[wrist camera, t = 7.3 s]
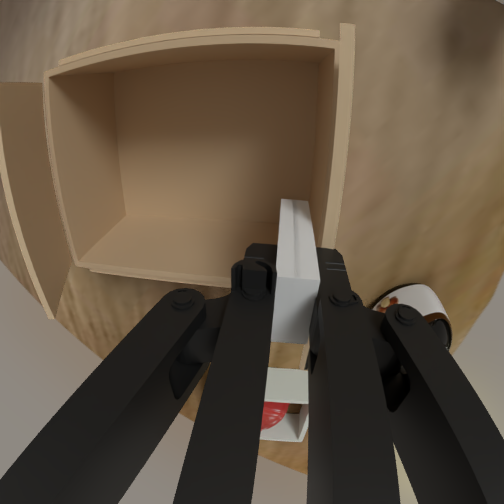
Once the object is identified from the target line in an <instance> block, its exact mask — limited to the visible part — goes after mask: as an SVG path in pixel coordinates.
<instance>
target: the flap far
mask: <svg viewBox="0 0 504 504" xmlns="http://www.w3.org/2000/svg"><path fill="white" fill-rule="evenodd" d="M0 173H1V178H2V183H3V188H4V192H5V196H6V201H7V205H8V209H9V212H10V216H11V220H12V223H13V227H14V230H15V233H16V237H17V240H18V243H19V246H20V249H21V252H22V255H23V258H24V261H25V263H26V266H27V269H28V271H29V274H30V277H31V279H32V282H33V284H34V287H35V289H36V291H37V294H38V296H39V299H40V301H41V303H42V305H43V308H44V310H45V312H46V314H47V316H48V318H49V319H55V316H56V312H57V309H58V305H59V301H60V298H61V294H62V291H63V288H64V284H65V281H66V278H67V275H68V272H69V269H70V266H71V263H72V259H71V255H70V252H69V248H68V245H67V241H66V238H65V234H64V230H63V226H62V222H61V218H60V214H59V209H58V205H57V200H56V195H55V190H54V185H53V180H52V174H51V168H50V162H49V155H48V148H47V140H46V132H45V122H44V110H43V93H42V83H25V82H8V83H0Z"/></svg>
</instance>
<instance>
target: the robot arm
mask: <svg viewBox="0 0 504 504" xmlns="http://www.w3.org/2000/svg"><path fill="white" fill-rule="evenodd" d="M308 338H309V346H310V347H309V352H308V356H307V360H306V364H305V368H304V370H307V369H308V482H307V504H400V495H399V484H398V476H397V468H396V460H395V453H394V446H393V443H394V445H395V447H396V450H397V452H398V454H399V457H400V459H401V461H402V464H403V466H404V469H405V471H406V473H407V476H408V478H409V481H410V483H411V486H412V488H413V491H414V493H415V496H416V499H417V501H418V504H504V439H503V437H502V436H501V434H500V432H499V430H498V428H497V427H496V425H495V423H494V421H493V420H492V418H491V417H490V415H489V413H488V411H487V410H486V408H485V406H484V405H483V403H482V401H481V400H480V398H479V397H478V395H477V393H476V392H475V390H474V389H473V387H472V386H471V384H470V382H469V381H468V379H467V378H466V376H465V375H464V373H463V372H462V370H461V369H460V368H459V366H458V364H457V363H456V361H455V360H454V358H453V357H452V356H451V354H450V353H449V351H448V350H447V348H446V347H445V346H444V344H443V343H442V341H441V340H440V339H439V337H438V336H437V335H436V333H435V332H434V330H433V329H432V328H431V326H430V325H429V324H428V322H427V321H426V320H425V318H424V317H423V316H422V314H421V313H420V312H419V311H418V310H416V309H415V308H413V307H411V306H409V305H405V304H393V305H390V306H389V307H388V308H387V309H386V311H385V313H383V312H379V311H375V310H372V309H369V308H366V307H365V306H363V303H362V300H361V298H360V297H359V295H357V294H356V293H355V292H354V291H352V290H351V287H350V283H349V279H348V275H347V271H346V268H345V265H344V260H343V257H342V255H341V254H340V253H339V252H338V251H337V250H336V249H329V248H321V247H316V246H315V240H314V233H313V227H312V221H311V215H310V209H309V203H308V201H303V200H292V199H281V208H280V222H279V235H278V245H274V244H262V243H252V244H251V245H250V246H249V247H248V248H246V251H245V255H244V259H243V260H240V261H238V262H236V263H235V264H234V265H233V266H232V268H231V293H230V294H228V295H227V296H224V297H221V298H216V299H208V300H205V298H204V296H203V295H202V294H201V293H200V292H199V291H196V290H194V289H188V288H182V289H176V290H173V291H170V292H169V293H168V294H166V295H165V296H164V297H163V298H162V299H161V300H160V301H159V302H158V303H157V304H156V305H155V306H154V307H153V308H152V309H151V310H150V311H149V312H148V313H147V314H146V315H145V316H144V318H143V319H142V320H141V321H140V322H139V323H138V324H137V325H136V326H135V327H134V328H133V329H132V330H131V331H130V332H129V333H128V334H127V336H126V337H125V338H124V339H123V340H122V341H121V342H120V343H119V344H118V345H117V346H116V347H115V348H114V349H113V351H112V352H111V353H110V354H109V355H108V356H107V357H106V358H105V359H104V360H103V361H102V363H101V364H100V365H99V366H98V367H97V368H96V369H95V370H94V371H93V373H91V375H90V376H89V377H88V378H87V379H86V380H85V381H84V382H83V383H82V385H81V386H80V387H79V388H78V389H77V390H76V391H75V392H74V393H73V395H72V396H71V397H70V398H69V399H68V400H67V401H66V402H65V404H64V405H63V406H62V407H61V408H60V409H59V410H58V412H57V413H56V414H55V415H54V416H53V417H52V418H51V420H50V421H49V422H48V423H47V424H46V425H45V427H44V428H43V429H42V430H41V431H40V432H39V433H38V435H37V436H36V437H35V438H34V439H33V441H32V442H31V443H30V444H29V445H28V446H27V448H26V449H25V450H24V451H23V452H22V454H21V455H20V456H19V457H18V458H17V460H16V461H15V462H14V463H13V465H12V466H11V467H10V468H9V469H8V471H7V472H6V473H5V475H4V476H3V477H2V478H1V479H0V504H118V503H119V501H120V500H121V498H122V497H123V496H124V494H125V493H126V491H127V490H128V488H129V487H130V485H131V484H132V482H133V481H134V479H135V478H136V476H137V475H138V473H139V472H140V470H141V469H142V468H143V466H144V465H145V463H146V461H147V460H148V459H149V457H150V455H151V454H152V453H153V451H154V450H155V448H156V447H157V445H158V443H159V442H160V441H161V439H162V438H163V436H164V434H165V433H166V431H167V430H168V428H169V427H170V425H171V424H172V422H173V421H174V419H175V417H176V416H177V415H178V413H179V412H180V410H181V408H182V407H183V405H184V404H185V402H186V401H187V399H188V398H189V396H190V394H191V393H192V391H193V390H194V388H195V387H196V385H197V384H198V382H199V380H200V379H201V377H202V376H203V374H204V373H205V371H206V369H207V368H208V366H209V364H210V362H211V365H210V368H209V372H208V376H207V379H206V383H205V386H204V390H203V394H202V397H201V401H200V404H199V408H198V412H197V415H196V419H195V423H194V427H193V430H192V434H191V437H190V441H189V445H188V449H187V452H186V456H185V460H184V464H183V467H182V471H181V475H180V479H179V482H178V486H177V490H176V494H175V497H174V501H173V504H251V500H252V493H253V486H254V479H255V472H256V463H257V456H258V449H259V441H260V433H261V425H262V416H263V408H264V399H265V391H266V382H267V372H268V363H269V353H270V344H271V341H273V342H285V343H297V344H307V342H308Z"/></svg>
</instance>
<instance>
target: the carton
mask: <svg viewBox="0 0 504 504" xmlns="http://www.w3.org/2000/svg"><path fill="white" fill-rule="evenodd" d="M339 53H340V40H332V39H324V38H320V30H312V29H300V28H283V27H228V28H211V29H199V30H189V31H181V32H173V33H166V34H160V35H154V36H148V37H143V38H138V39H133V40H128V41H124V42H119V43H115V44H111V45H107V46H103V47H99V48H96V49H92V50H89V51H86V52H82V53H79V54H76V55H73V56H70V57H67V58H64V59H61V60H59V67H56V68H53V69H50V70H48V71H45V72H44V98H45V113H46V125H47V134H48V143H49V150H50V157H51V164H52V170H53V176H54V182H55V187H56V192H57V197H58V202H59V206H60V211H61V215H62V219H63V223H64V227H65V231H66V235H67V239H68V243H69V246H70V250H71V253H72V257H73V260H74V263H75V266H77V267H84V268H89V269H90V272H98V273H105V274H112V275H120V276H128V277H136V278H144V279H152V280H161V281H169V282H178V283H188V284H197V285H207V286H217V287H227V288H231V268H232V266H233V265H234V264H235V263H236V262H238V261H240V260H243V259H244V255H245V251H246V248H248V247H249V246H250V245H251V244H252V243H262V244H274V245H278V235H279V222H280V208H281V199H292V200H303V201H308V203H309V209H310V215H311V221H312V227H313V233H314V240H315V246H316V247H321V246H322V240H323V233H324V226H325V218H326V211H327V203H328V195H329V186H330V177H331V168H332V158H333V148H334V137H335V124H336V111H337V96H338V78H339Z"/></svg>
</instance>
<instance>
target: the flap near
mask: <svg viewBox="0 0 504 504" xmlns="http://www.w3.org/2000/svg"><path fill="white" fill-rule="evenodd" d="M354 59H355V24H348V23H340V53H339V78H338V96H337V111H336V124H335V137H334V148H333V158H332V168H331V177H330V186H329V195H328V203H327V211H326V218H325V226H324V233H323V240H322V246H321V248H329V249H334V246H335V240H336V234H337V228H338V222H339V215H340V209H341V202H342V194H343V187H344V179H345V171H346V163H347V154H348V144H349V134H350V123H351V111H352V97H353V81H354ZM309 347H310V346H309V338H308V342H307V344H304V347H303V352H302V357H301V362H300V366H299V370H304V368H305V364H306V360H307V356H308V352H309ZM304 371H308V369H307V370H304Z"/></svg>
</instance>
